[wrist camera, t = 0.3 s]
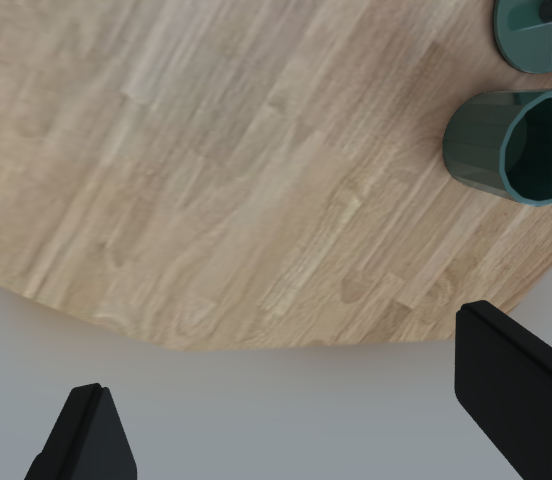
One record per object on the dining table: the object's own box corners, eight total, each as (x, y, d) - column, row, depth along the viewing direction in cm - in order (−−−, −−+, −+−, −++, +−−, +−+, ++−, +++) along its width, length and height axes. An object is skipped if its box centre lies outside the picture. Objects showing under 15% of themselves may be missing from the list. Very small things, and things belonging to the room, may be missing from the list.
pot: (441, 100, 46) (501, 99, 36) (531, 83, 47) (611, 79, 37) (443, 194, 49) (497, 215, 40) (525, 177, 50) (597, 194, 41)
